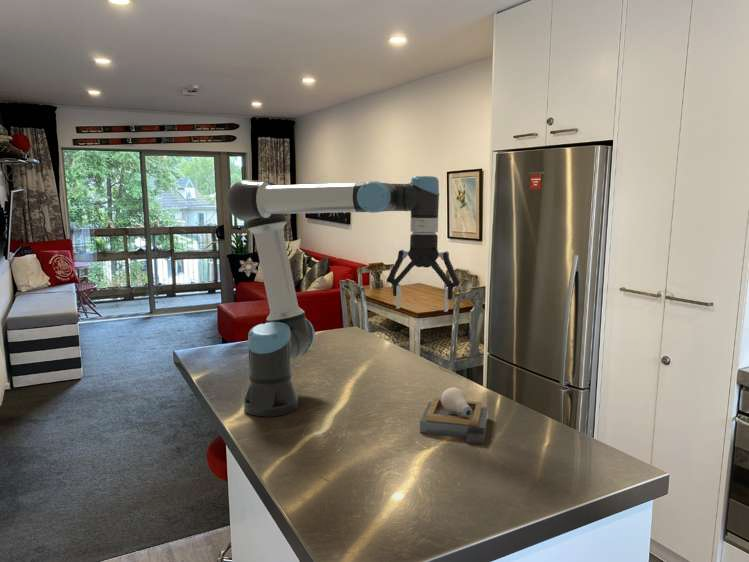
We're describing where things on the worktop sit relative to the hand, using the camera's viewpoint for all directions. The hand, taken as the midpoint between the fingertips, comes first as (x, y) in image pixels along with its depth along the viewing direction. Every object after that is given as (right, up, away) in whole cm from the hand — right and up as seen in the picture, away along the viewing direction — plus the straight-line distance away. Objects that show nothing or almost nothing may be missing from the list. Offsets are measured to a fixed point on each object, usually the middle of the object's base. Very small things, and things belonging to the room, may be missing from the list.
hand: (422, 309), depth 155 cm
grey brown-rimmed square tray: (+8, -30, -10) cm, 32 cm away
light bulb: (+8, -26, -13) cm, 30 cm away
